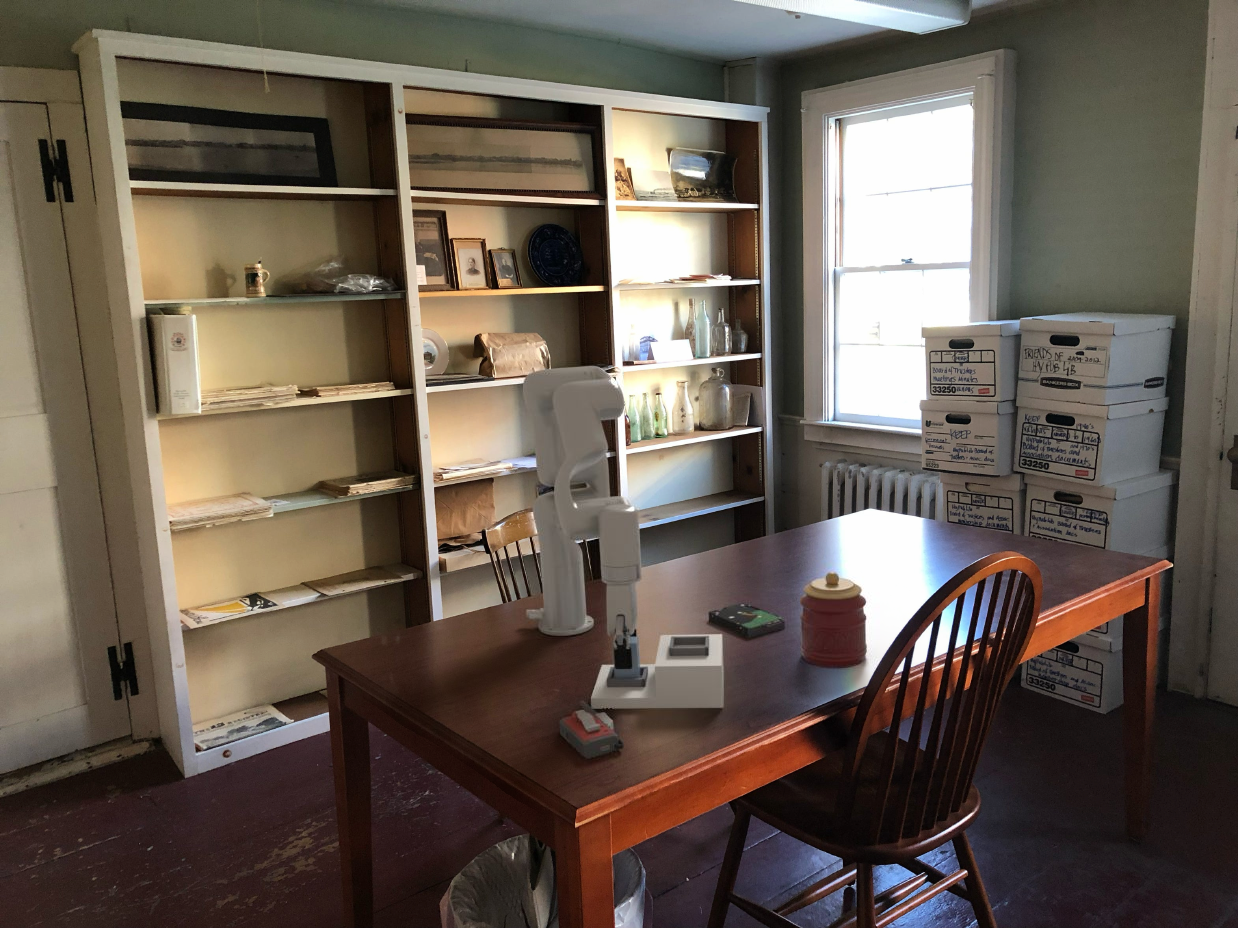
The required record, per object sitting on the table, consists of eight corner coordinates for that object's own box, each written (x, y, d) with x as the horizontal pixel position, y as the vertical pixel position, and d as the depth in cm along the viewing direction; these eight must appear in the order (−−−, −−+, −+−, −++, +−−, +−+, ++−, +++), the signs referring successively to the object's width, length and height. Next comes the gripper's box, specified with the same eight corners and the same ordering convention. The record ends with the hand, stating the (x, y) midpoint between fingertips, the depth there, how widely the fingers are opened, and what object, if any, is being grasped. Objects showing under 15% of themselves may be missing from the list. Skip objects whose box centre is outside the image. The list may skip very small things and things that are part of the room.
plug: (615, 683, 182) (612, 643, 180) (617, 676, 185) (614, 636, 184) (638, 683, 181) (636, 643, 180) (640, 676, 185) (638, 636, 183)
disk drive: (707, 623, 220) (749, 640, 207) (707, 611, 219) (749, 627, 207) (743, 613, 225) (786, 629, 212) (742, 601, 224) (785, 616, 212)
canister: (788, 651, 198) (786, 569, 195) (843, 640, 202) (841, 559, 199) (823, 673, 186) (821, 585, 183) (880, 661, 190) (879, 575, 187)
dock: (591, 708, 176) (588, 659, 175) (602, 674, 192) (599, 628, 190) (723, 707, 173) (721, 657, 172) (723, 672, 189) (721, 626, 187)
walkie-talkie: (635, 750, 160) (587, 707, 177) (634, 725, 159) (585, 685, 177) (587, 764, 156) (542, 719, 174) (585, 739, 155) (540, 696, 173)
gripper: (607, 559, 188) (612, 642, 191) (595, 585, 171) (600, 676, 174) (645, 558, 187) (649, 641, 190) (637, 585, 170) (642, 676, 173)
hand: (626, 658), depth 182 cm, fingers open, 9 cm apart
